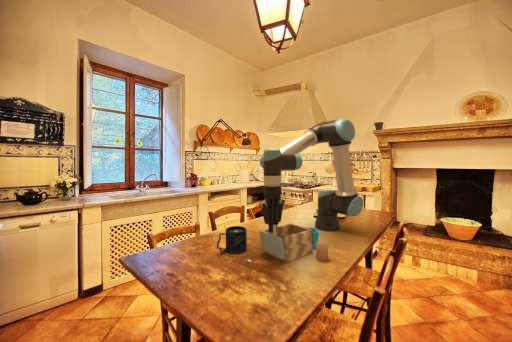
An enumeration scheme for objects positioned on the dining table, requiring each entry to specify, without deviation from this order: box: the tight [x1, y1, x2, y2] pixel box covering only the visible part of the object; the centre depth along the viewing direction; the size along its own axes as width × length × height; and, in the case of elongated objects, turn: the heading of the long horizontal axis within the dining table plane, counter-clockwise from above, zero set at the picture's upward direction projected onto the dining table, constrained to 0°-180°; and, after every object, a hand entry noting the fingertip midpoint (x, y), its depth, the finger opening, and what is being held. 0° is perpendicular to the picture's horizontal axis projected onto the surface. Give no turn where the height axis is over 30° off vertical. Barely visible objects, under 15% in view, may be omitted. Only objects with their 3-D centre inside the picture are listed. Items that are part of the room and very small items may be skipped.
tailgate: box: [258, 229, 285, 262], centre depth 100 cm, size 1×14×10 cm, turn 37°
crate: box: [264, 223, 314, 263], centre depth 106 cm, size 17×14×10 cm
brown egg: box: [315, 240, 329, 263], centre depth 98 cm, size 5×5×7 cm
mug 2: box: [307, 227, 320, 250], centre depth 114 cm, size 12×8×8 cm
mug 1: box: [216, 225, 248, 255], centre depth 108 cm, size 15×10×10 cm, turn 117°
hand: (273, 239), depth 100 cm, fingers closed
